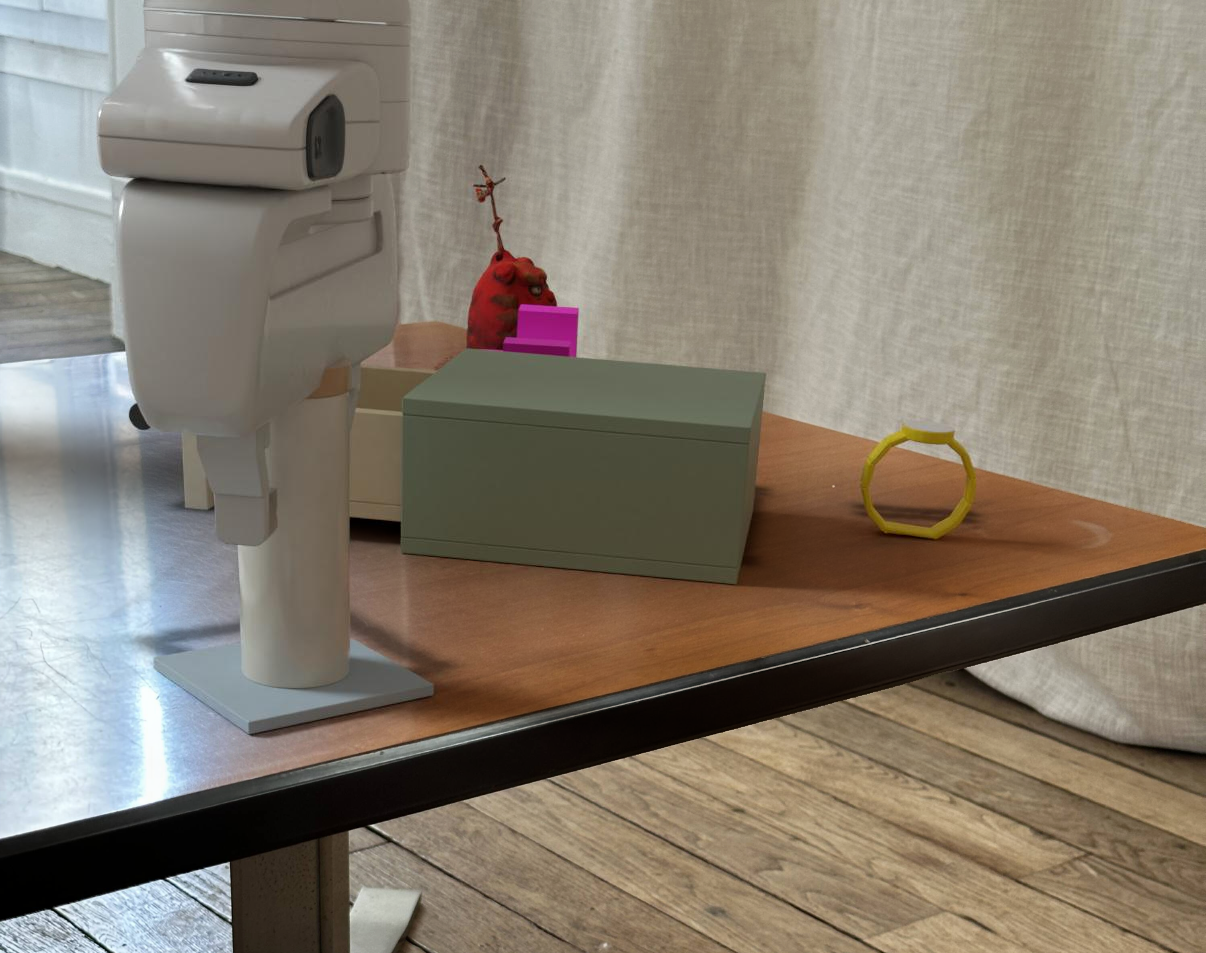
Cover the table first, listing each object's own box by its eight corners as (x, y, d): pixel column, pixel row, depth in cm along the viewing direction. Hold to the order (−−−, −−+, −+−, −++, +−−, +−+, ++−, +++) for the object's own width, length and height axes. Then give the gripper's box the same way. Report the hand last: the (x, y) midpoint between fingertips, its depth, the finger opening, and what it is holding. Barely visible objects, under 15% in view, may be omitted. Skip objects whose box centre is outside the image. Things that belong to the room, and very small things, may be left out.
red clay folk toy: (545, 399, 120) (554, 174, 114) (449, 390, 122) (453, 166, 115) (570, 381, 127) (580, 167, 121) (479, 372, 128) (485, 160, 122)
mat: (248, 735, 62) (248, 722, 62) (153, 668, 68) (152, 656, 67) (434, 695, 67) (434, 683, 66) (330, 636, 72) (330, 625, 72)
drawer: (102, 504, 86) (94, 387, 83) (195, 447, 98) (191, 343, 95) (489, 539, 84) (492, 421, 81) (535, 477, 96) (540, 372, 94)
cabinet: (400, 552, 84) (401, 397, 81) (462, 483, 97) (465, 347, 94) (736, 584, 82) (751, 427, 79) (753, 510, 96) (766, 372, 92)
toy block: (479, 417, 114) (482, 301, 111) (573, 423, 114) (578, 307, 111) (456, 470, 100) (459, 340, 97) (563, 477, 100) (569, 346, 97)
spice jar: (223, 683, 65) (211, 364, 60) (259, 646, 69) (251, 344, 64) (335, 695, 65) (332, 374, 60) (365, 657, 69) (365, 353, 64)
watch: (857, 537, 91) (871, 426, 89) (853, 524, 94) (866, 416, 92) (969, 545, 91) (986, 434, 89) (962, 531, 94) (978, 423, 91)
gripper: (283, 96, 68) (289, 441, 74) (69, 116, 50) (100, 574, 55) (438, 107, 68) (432, 454, 73) (280, 131, 49) (288, 593, 55)
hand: (288, 507), depth 64 cm, fingers open, 8 cm apart
